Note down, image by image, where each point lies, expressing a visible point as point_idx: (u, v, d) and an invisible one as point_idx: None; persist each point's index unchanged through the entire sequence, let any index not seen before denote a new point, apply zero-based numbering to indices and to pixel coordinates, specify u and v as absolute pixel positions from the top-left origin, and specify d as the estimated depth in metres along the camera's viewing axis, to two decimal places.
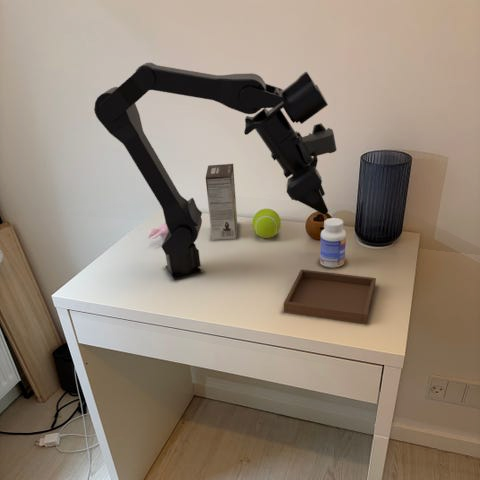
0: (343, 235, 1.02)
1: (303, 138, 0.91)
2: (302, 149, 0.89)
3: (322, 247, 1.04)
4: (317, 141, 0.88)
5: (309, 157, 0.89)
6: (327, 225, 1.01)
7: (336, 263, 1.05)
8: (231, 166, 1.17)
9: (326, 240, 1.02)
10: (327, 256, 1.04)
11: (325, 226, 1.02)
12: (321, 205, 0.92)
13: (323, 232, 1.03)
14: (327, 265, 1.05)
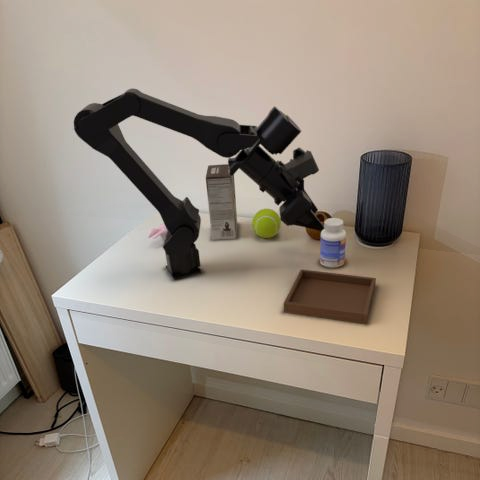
0: (343, 235, 1.02)
1: (285, 165, 0.96)
2: (286, 177, 0.94)
3: (322, 247, 1.04)
4: (299, 166, 0.93)
5: (295, 182, 0.94)
6: (327, 225, 1.01)
7: (336, 263, 1.05)
8: None
9: (326, 240, 1.02)
10: (327, 256, 1.04)
11: (325, 226, 1.02)
12: (316, 223, 0.97)
13: (323, 232, 1.03)
14: (327, 265, 1.05)
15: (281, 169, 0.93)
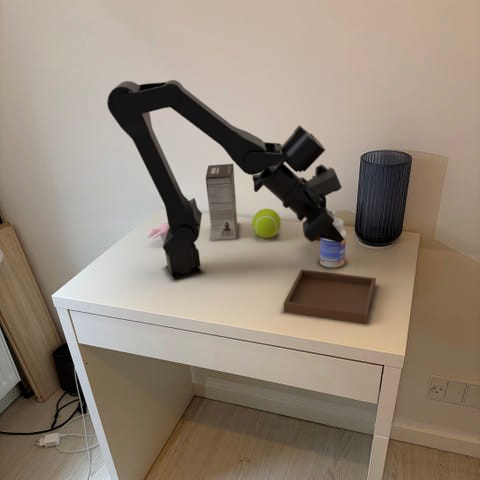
0: (343, 235, 1.02)
1: (308, 182, 0.98)
2: (310, 193, 0.96)
3: (322, 247, 1.04)
4: (322, 183, 0.95)
5: (318, 199, 0.96)
6: None
7: (336, 263, 1.05)
8: (231, 166, 1.17)
9: (326, 240, 1.02)
10: (327, 256, 1.04)
11: None
12: (336, 235, 1.00)
13: None
14: (327, 265, 1.05)
15: (305, 186, 0.95)
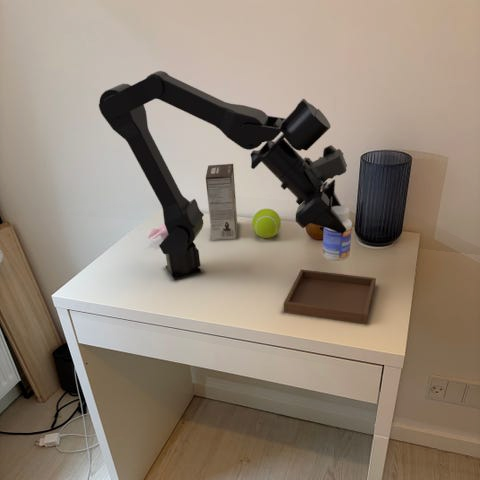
0: (347, 226, 0.92)
1: (312, 163, 0.90)
2: (309, 175, 0.87)
3: (324, 237, 0.95)
4: (324, 165, 0.86)
5: (318, 182, 0.88)
6: None
7: (337, 256, 0.95)
8: (231, 166, 1.17)
9: (328, 230, 0.93)
10: (328, 247, 0.95)
11: None
12: (337, 224, 0.91)
13: None
14: (328, 257, 0.96)
15: (304, 167, 0.87)
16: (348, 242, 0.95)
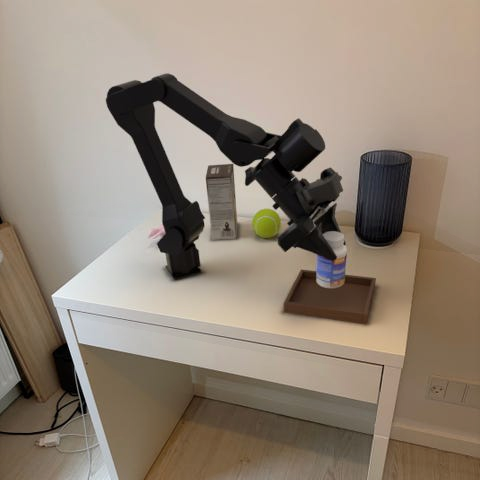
0: (339, 253, 0.87)
1: (307, 185, 0.85)
2: (299, 198, 0.84)
3: (317, 262, 0.91)
4: (314, 189, 0.82)
5: (308, 206, 0.84)
6: None
7: (328, 284, 0.91)
8: (231, 166, 1.17)
9: None
10: (319, 273, 0.91)
11: None
12: (327, 251, 0.86)
13: None
14: (320, 284, 0.92)
15: (295, 189, 0.83)
16: (341, 270, 0.89)
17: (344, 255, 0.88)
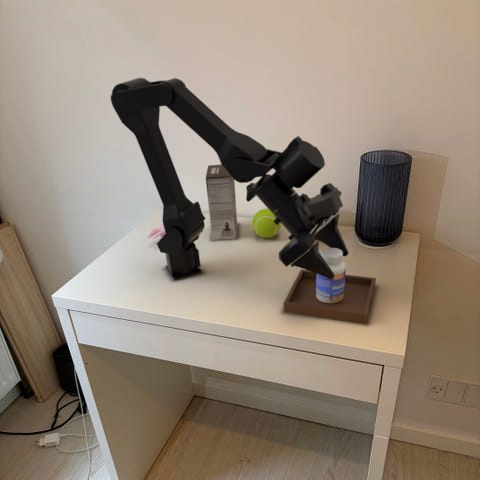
0: (338, 270, 0.89)
1: (307, 200, 0.87)
2: (300, 213, 0.85)
3: (316, 278, 0.93)
4: (314, 205, 0.83)
5: (308, 221, 0.85)
6: (321, 255, 0.90)
7: (328, 299, 0.93)
8: None
9: None
10: (319, 288, 0.93)
11: (321, 255, 0.90)
12: (324, 270, 0.86)
13: None
14: (319, 299, 0.94)
15: (296, 204, 0.85)
16: (340, 286, 0.91)
17: (343, 271, 0.90)
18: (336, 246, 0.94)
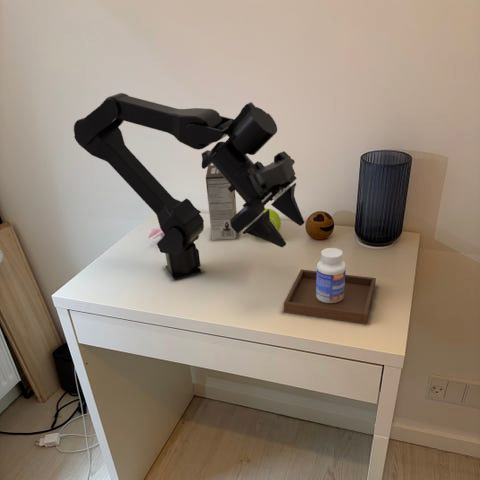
0: (338, 270, 0.89)
1: (261, 168, 0.88)
2: (252, 181, 0.86)
3: None
4: (265, 173, 0.84)
5: (260, 189, 0.86)
6: (321, 255, 0.90)
7: (328, 299, 0.93)
8: None
9: (318, 271, 0.91)
10: (319, 288, 0.93)
11: (321, 255, 0.90)
12: (276, 238, 0.88)
13: (319, 261, 0.92)
14: (319, 299, 0.94)
15: (248, 172, 0.86)
16: (340, 286, 0.91)
17: (343, 271, 0.90)
18: (292, 215, 0.95)
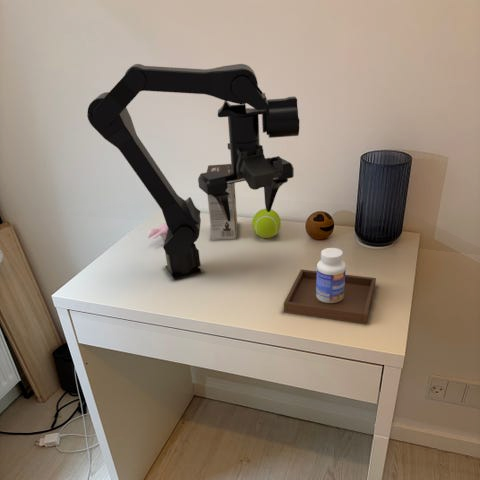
0: (338, 270, 0.89)
1: (256, 156, 0.92)
2: (237, 162, 0.92)
3: None
4: (246, 168, 0.90)
5: (238, 173, 0.92)
6: (321, 255, 0.90)
7: (328, 299, 0.93)
8: None
9: (318, 271, 0.91)
10: (319, 288, 0.93)
11: (321, 255, 0.90)
12: (225, 212, 0.99)
13: (319, 261, 0.92)
14: (319, 299, 0.94)
15: (239, 153, 0.91)
16: (340, 286, 0.91)
17: (343, 271, 0.90)
18: (266, 199, 1.02)
